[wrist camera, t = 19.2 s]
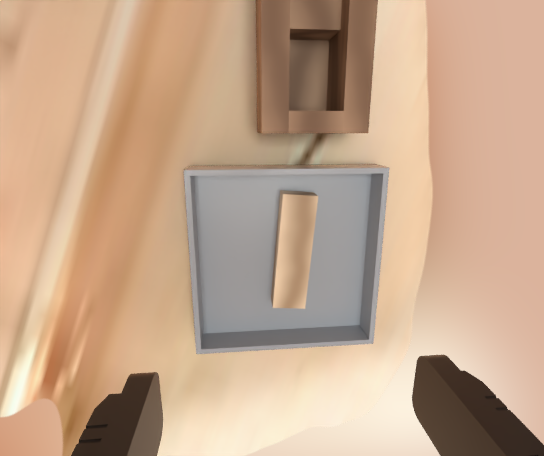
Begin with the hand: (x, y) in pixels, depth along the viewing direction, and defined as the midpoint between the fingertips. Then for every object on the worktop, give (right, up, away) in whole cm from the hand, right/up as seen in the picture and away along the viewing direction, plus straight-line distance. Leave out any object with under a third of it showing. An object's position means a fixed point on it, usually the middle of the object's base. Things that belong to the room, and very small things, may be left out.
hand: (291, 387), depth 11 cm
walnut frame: (+3, +25, +27) cm, 37 cm away
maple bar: (+2, +2, +32) cm, 33 cm away
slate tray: (+1, +2, +33) cm, 33 cm away
